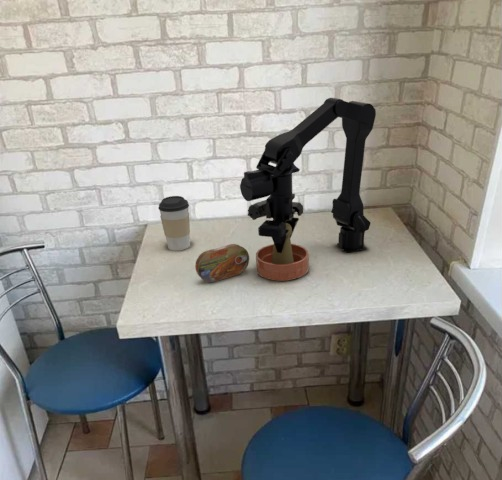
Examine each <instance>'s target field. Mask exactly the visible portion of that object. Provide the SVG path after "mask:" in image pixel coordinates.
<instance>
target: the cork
mask: <svg viewBox="0 0 502 480" xmlns="http://www.w3.org/2000/svg"><path fill="white" fill-rule="evenodd" d="M286 230H289V233H288V236H287V239H286V242H285V245H284V248H283V250H282V253H278V252H277V250H276V247H275V245H274V246H273V256H272V264H290V263H294V260H293V254H292V247H291V244H292V241H291V238H290V235H291V233H292V227H291V225H290V224H288V223H286ZM292 234H293V233H292Z"/></svg>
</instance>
